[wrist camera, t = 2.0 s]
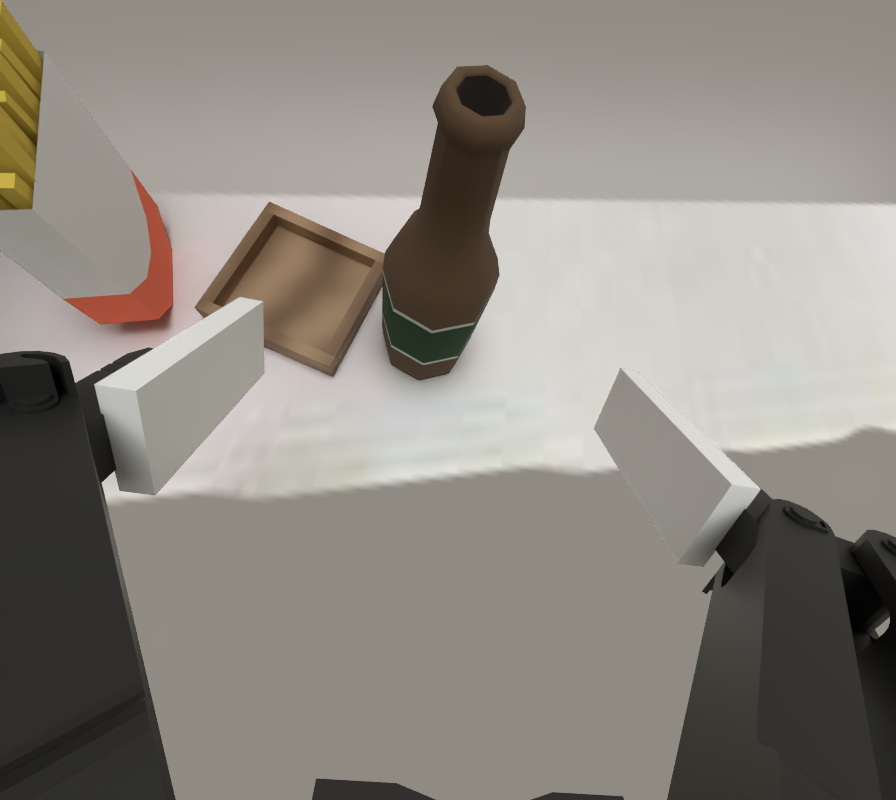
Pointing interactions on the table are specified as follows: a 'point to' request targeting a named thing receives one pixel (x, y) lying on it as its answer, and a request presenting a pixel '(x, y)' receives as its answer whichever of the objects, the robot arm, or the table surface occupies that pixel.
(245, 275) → the wooden tray
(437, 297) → the beer bottle
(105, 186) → the french fries container
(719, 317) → the table surface
